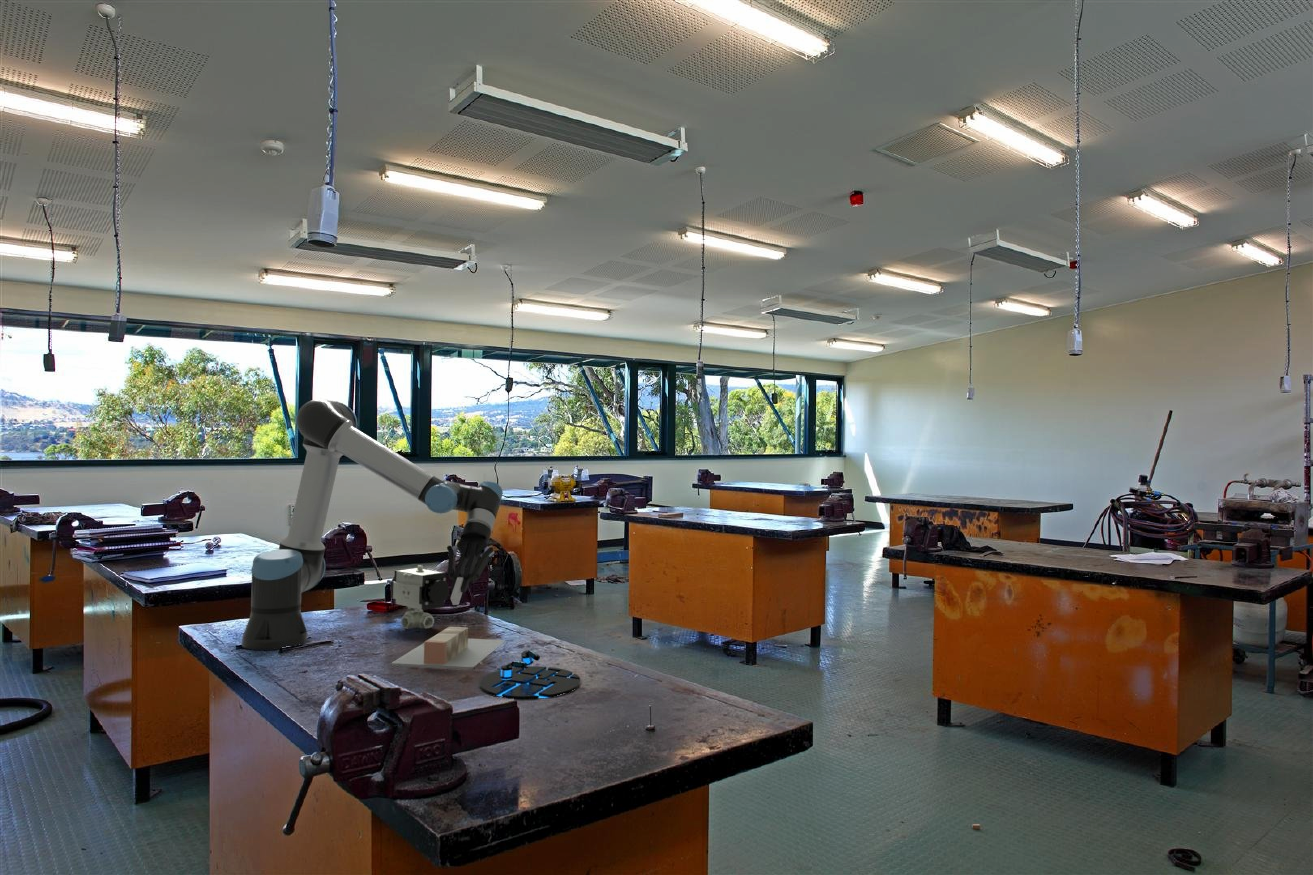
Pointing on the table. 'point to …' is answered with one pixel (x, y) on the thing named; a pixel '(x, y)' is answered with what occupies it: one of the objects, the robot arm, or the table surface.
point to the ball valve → (419, 594)
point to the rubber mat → (461, 661)
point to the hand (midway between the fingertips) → (454, 601)
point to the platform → (528, 680)
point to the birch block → (445, 645)
